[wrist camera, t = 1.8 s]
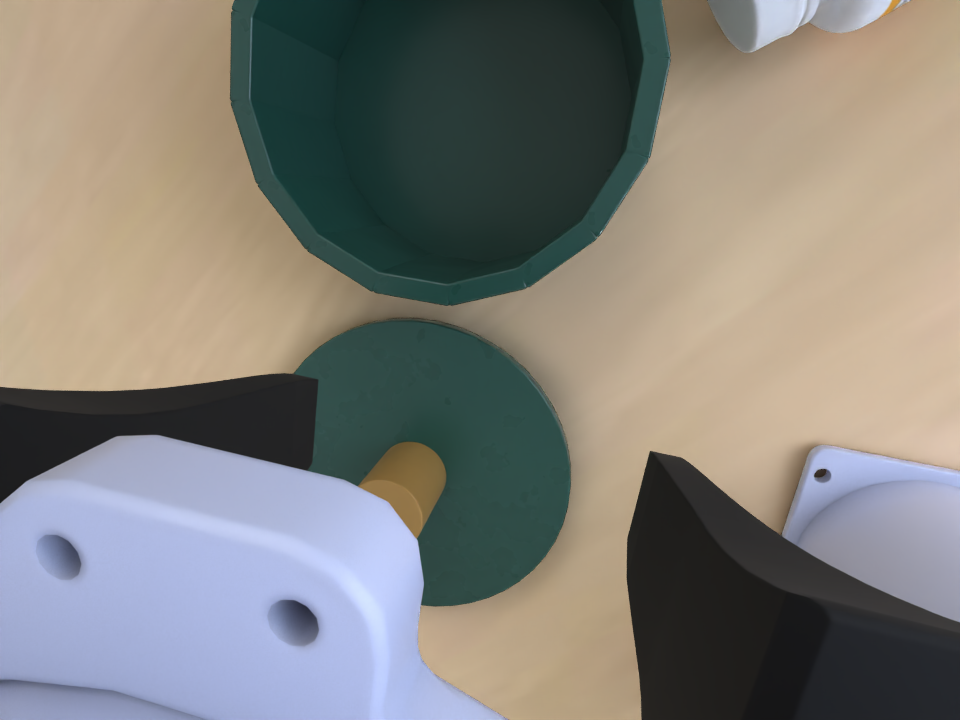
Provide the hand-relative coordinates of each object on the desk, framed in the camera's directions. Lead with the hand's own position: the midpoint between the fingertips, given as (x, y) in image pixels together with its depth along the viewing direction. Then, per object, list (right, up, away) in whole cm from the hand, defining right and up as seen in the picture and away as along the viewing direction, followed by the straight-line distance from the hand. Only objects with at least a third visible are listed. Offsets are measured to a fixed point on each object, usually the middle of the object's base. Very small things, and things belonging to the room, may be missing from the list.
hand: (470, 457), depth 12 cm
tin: (0, +10, +7) cm, 13 cm away
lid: (-2, -2, +10) cm, 11 cm away
